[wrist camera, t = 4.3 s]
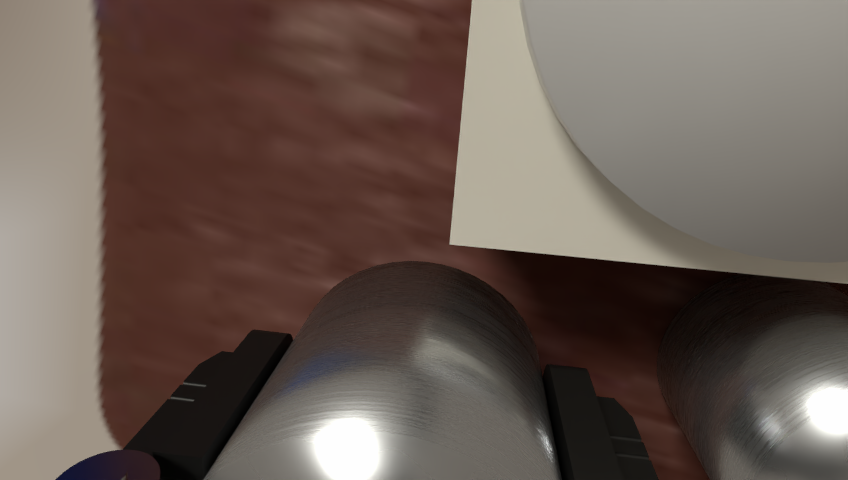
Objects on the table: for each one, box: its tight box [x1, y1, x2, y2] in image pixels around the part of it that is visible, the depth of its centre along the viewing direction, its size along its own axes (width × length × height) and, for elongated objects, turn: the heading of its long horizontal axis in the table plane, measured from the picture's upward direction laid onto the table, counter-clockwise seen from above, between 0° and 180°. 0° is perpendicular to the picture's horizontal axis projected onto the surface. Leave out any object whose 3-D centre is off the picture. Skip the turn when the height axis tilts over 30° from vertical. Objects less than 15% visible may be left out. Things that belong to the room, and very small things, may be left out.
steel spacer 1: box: [203, 261, 562, 480], centre depth 9 cm, size 5×5×5 cm
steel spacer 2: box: [657, 274, 848, 480], centre depth 12 cm, size 5×5×5 cm
